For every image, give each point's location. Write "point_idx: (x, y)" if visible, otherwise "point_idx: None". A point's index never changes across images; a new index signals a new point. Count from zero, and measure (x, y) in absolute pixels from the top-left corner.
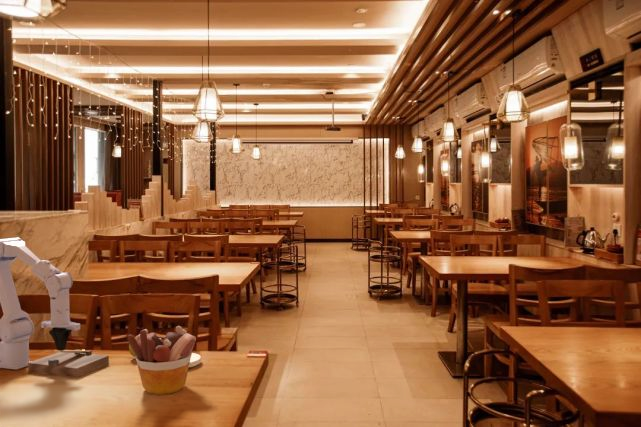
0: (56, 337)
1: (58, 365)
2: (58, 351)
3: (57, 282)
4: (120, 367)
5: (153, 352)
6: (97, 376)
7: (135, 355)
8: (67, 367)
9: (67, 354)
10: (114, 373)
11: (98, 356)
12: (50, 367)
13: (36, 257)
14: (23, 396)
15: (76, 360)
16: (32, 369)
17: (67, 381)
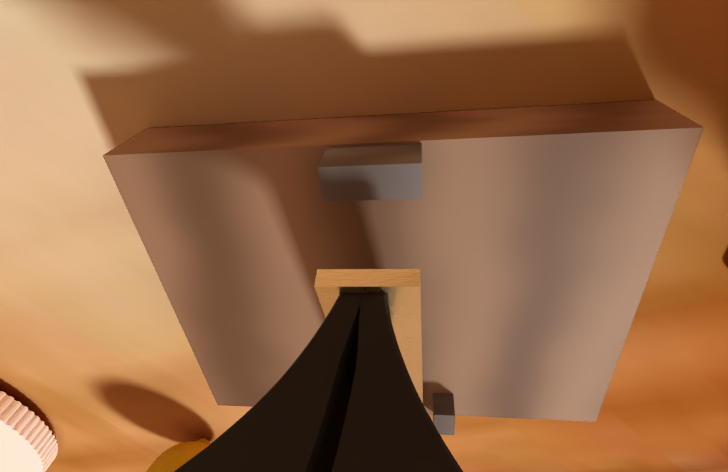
0: (346, 423)
1: (317, 164)
2: (353, 276)
3: None
4: (134, 339)
5: None
6: (69, 195)
7: (178, 444)
8: (197, 150)
9: (491, 376)
10: (53, 264)
11: (253, 384)
12: (392, 133)
13: None
14: None
15: (305, 299)
16: (612, 109)
17: (116, 30)
